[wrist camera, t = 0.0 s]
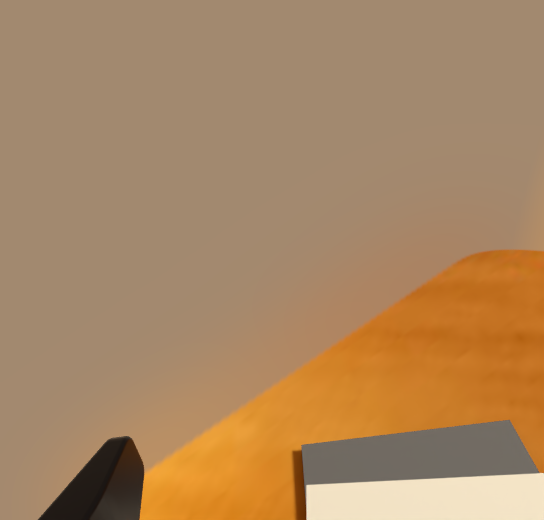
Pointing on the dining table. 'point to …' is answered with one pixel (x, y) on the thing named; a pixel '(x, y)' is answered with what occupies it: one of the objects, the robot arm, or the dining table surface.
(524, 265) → the dining table surface
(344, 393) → the dining table surface
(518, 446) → the mat
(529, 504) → the tile
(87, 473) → the robot arm
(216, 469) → the dining table surface
